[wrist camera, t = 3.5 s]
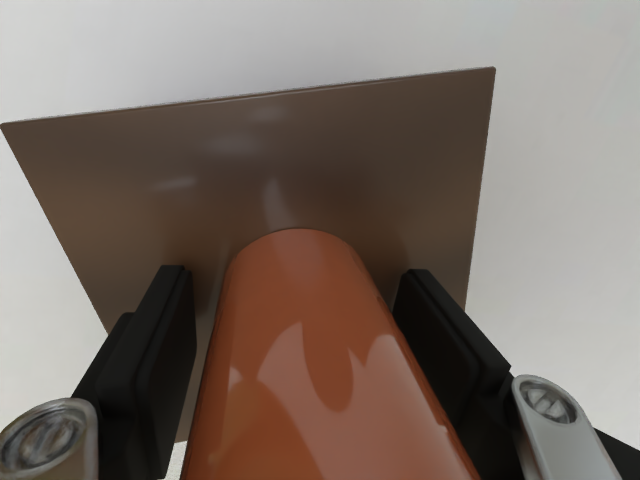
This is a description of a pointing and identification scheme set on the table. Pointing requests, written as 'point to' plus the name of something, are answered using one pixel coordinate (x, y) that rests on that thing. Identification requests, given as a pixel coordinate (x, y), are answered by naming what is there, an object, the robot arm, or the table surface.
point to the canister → (314, 376)
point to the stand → (263, 185)
